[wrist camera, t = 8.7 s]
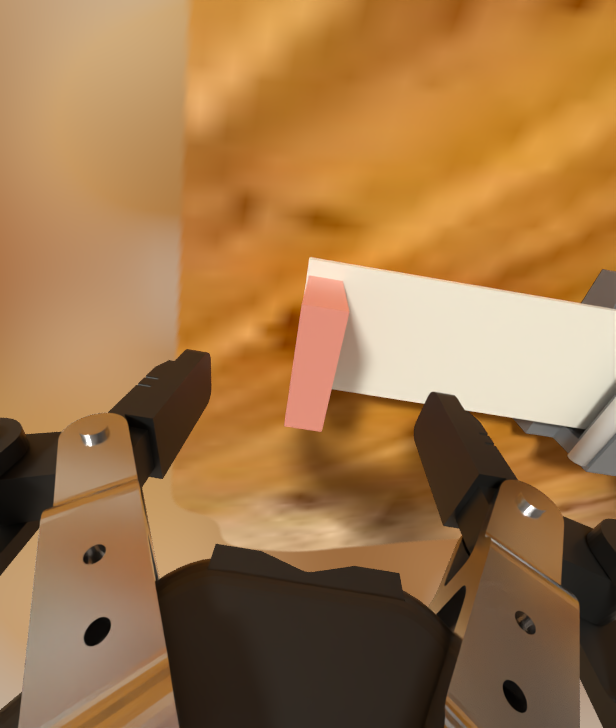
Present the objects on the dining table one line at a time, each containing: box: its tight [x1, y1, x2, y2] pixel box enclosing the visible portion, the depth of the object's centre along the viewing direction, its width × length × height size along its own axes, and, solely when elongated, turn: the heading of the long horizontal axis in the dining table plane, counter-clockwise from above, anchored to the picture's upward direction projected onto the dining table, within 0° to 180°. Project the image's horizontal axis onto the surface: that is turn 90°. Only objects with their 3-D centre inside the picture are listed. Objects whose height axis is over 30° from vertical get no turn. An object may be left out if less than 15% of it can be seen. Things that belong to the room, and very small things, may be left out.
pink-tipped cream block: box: [284, 257, 616, 432], centre depth 15 cm, size 8×20×6 cm, turn 81°
